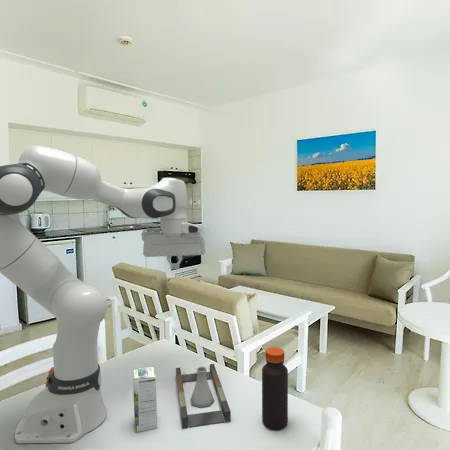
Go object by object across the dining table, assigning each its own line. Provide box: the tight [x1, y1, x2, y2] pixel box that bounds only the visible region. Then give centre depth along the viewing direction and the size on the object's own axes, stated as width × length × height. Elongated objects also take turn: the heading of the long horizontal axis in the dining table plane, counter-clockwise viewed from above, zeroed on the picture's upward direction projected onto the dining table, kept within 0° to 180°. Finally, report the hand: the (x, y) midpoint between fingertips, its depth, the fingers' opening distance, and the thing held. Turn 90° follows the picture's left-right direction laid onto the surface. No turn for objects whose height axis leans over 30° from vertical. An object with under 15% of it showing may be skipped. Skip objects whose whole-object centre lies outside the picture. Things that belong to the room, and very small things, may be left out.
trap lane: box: [175, 363, 232, 429], centre depth 107 cm, size 13×27×3 cm, turn 11°
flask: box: [190, 365, 215, 408], centre depth 105 cm, size 7×7×10 cm
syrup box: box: [132, 366, 158, 433], centre depth 95 cm, size 6×6×14 cm
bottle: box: [261, 346, 289, 431], centre depth 94 cm, size 7×7×20 cm
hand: (174, 269), depth 117 cm, fingers closed
